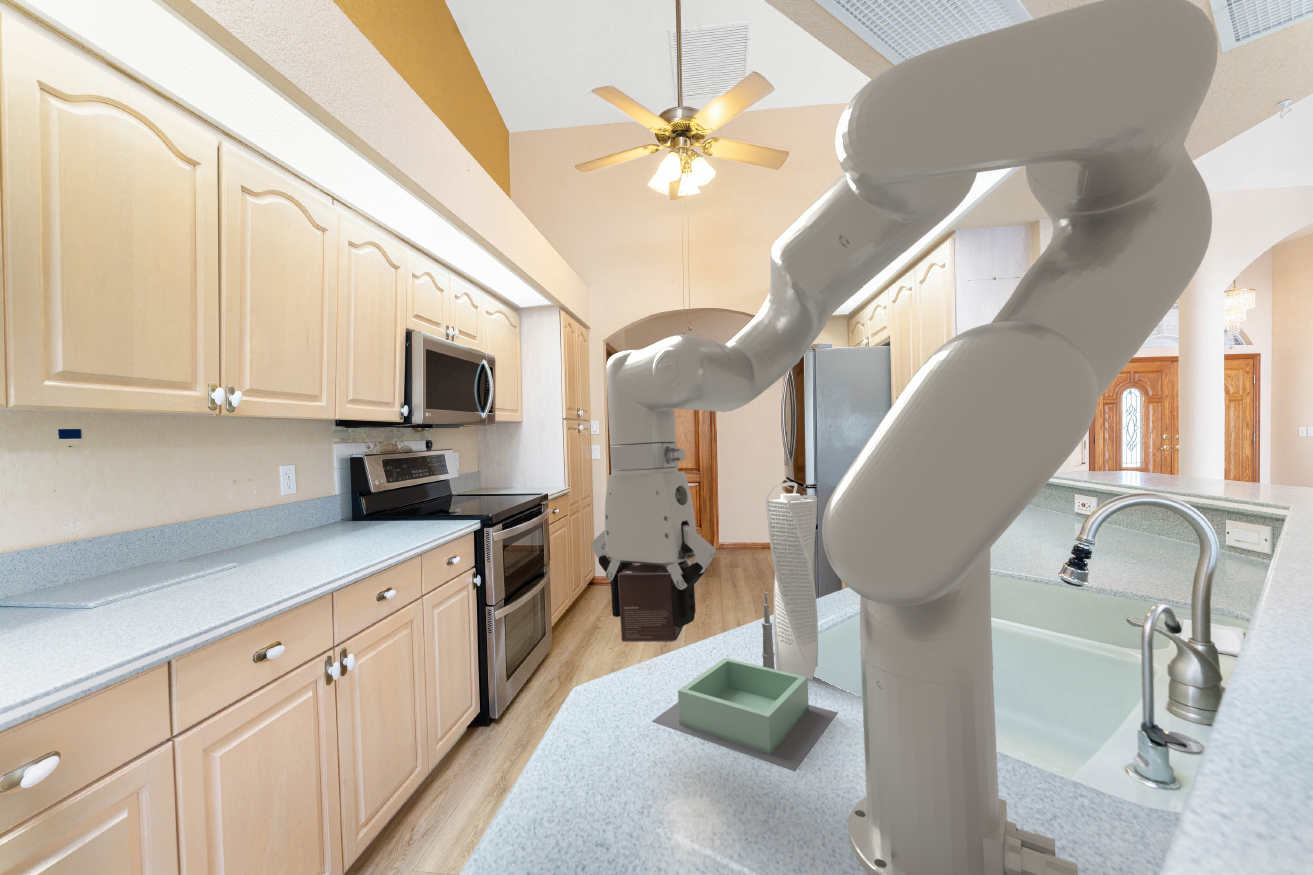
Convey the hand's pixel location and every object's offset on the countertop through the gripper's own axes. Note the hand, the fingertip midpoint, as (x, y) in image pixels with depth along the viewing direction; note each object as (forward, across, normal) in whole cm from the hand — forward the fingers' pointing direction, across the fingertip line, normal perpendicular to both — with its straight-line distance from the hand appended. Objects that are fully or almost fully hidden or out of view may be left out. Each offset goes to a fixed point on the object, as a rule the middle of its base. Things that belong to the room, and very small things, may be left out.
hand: (652, 617), depth 59 cm
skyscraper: (+15, -5, -27) cm, 31 cm away
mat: (+15, -5, -11) cm, 19 cm away
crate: (+14, -5, -11) cm, 19 cm away
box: (+2, 0, 0) cm, 2 cm away
